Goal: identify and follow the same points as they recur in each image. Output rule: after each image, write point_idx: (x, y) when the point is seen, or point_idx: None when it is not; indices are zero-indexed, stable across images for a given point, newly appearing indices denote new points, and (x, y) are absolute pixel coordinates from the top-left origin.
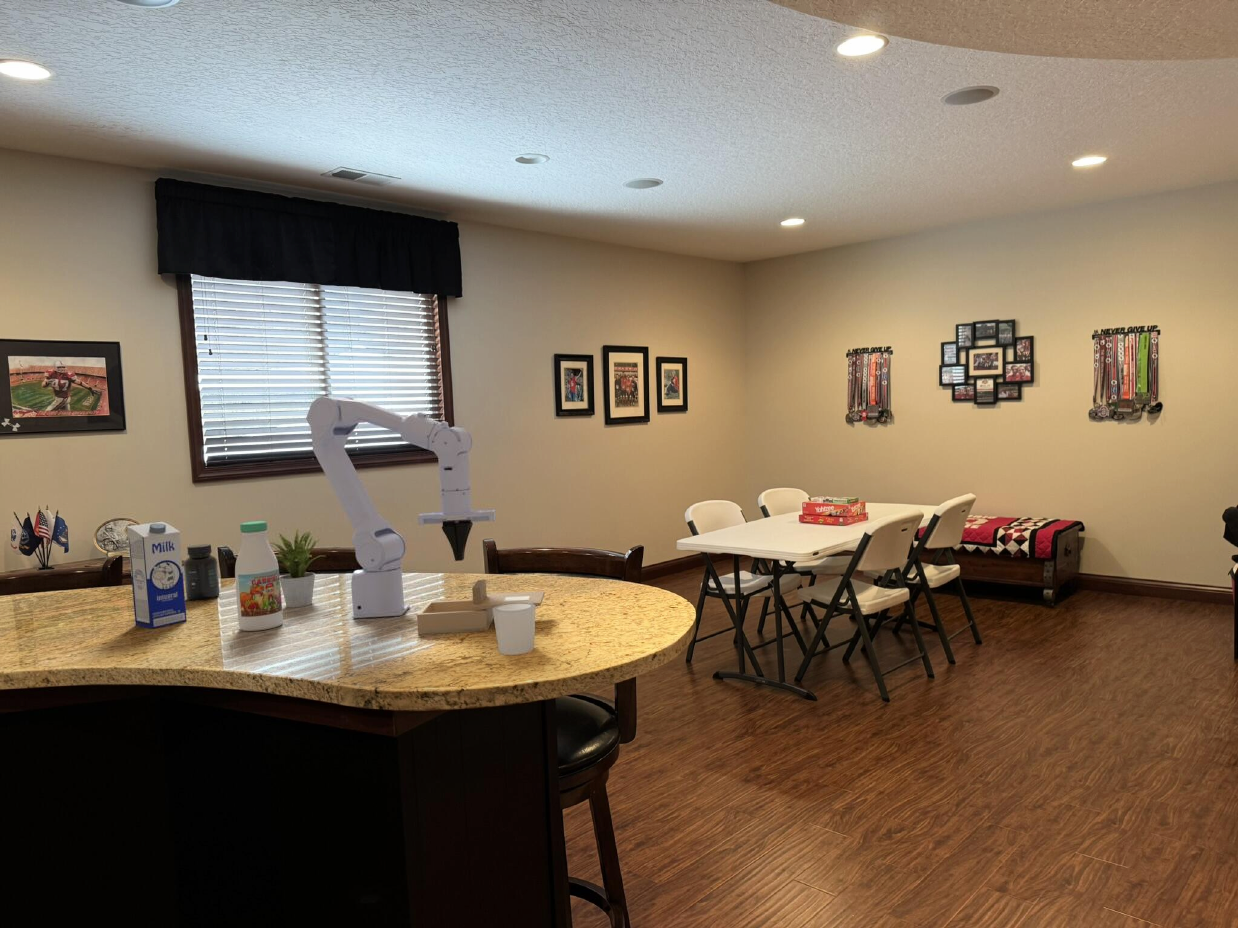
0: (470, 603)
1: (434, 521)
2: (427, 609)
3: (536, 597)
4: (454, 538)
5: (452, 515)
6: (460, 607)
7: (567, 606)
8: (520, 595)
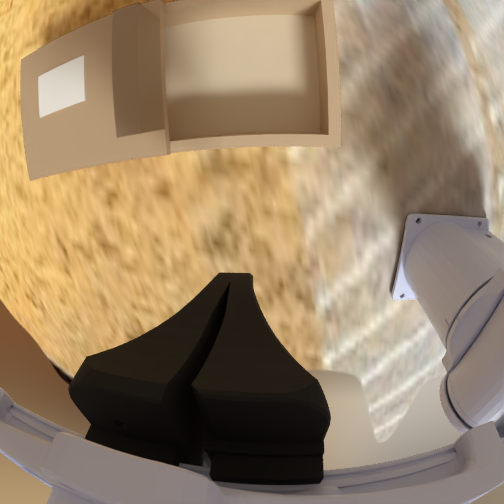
0: (202, 137)
1: (391, 475)
2: (325, 72)
3: (29, 108)
4: (223, 335)
5: (99, 491)
6: (236, 134)
7: (50, 230)
8: (59, 130)
